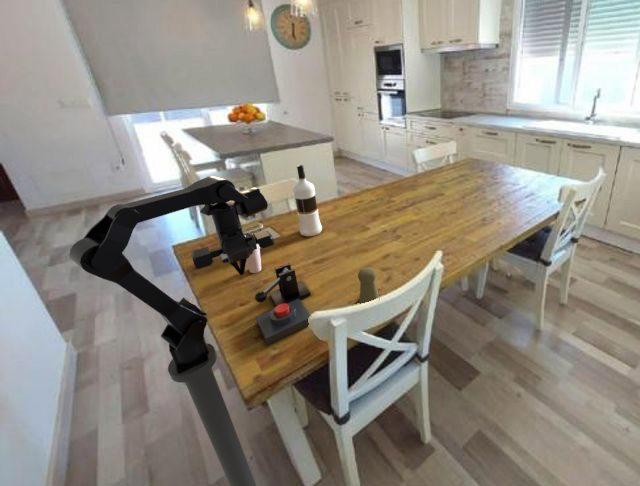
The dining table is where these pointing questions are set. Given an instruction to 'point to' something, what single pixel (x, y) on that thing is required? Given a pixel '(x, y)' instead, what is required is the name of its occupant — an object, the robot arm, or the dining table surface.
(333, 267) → the dining table surface
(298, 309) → the switch block
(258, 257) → the smoothie
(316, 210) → the vodka
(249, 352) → the dining table surface
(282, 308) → the switch button
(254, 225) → the platform
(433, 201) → the dining table surface
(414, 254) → the dining table surface
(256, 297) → the switch lever
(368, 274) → the grey brown pawn
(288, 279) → the switch bracket
